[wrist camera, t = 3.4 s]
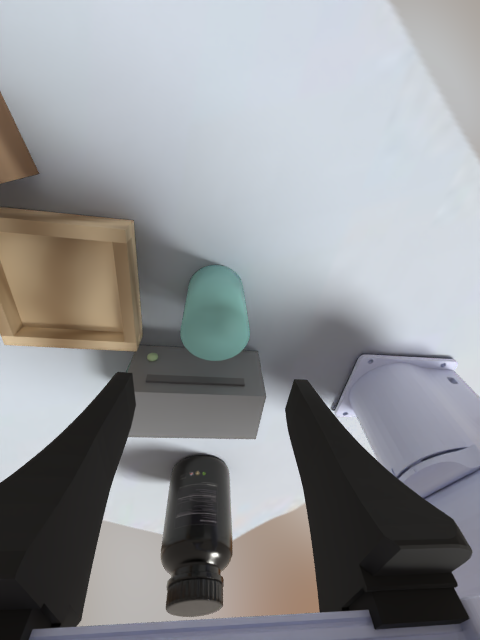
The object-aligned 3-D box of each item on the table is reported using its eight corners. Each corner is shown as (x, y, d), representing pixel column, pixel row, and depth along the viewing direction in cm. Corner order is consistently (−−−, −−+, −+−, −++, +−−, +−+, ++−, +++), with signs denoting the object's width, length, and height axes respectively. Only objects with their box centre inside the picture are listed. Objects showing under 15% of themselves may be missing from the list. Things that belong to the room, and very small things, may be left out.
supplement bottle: (230, 482, 36) (235, 616, 26) (175, 486, 36) (159, 623, 26) (228, 451, 32) (233, 593, 23) (167, 455, 32) (145, 601, 22)
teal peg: (246, 267, 20) (254, 307, 16) (239, 315, 23) (245, 362, 18) (189, 262, 20) (180, 302, 15) (187, 311, 22) (180, 359, 18)
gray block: (258, 349, 25) (266, 394, 20) (249, 392, 27) (255, 439, 23) (133, 342, 23) (115, 389, 19) (137, 388, 26) (122, 437, 22)
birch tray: (133, 220, 18) (125, 229, 16) (142, 335, 23) (136, 351, 21) (-24, 204, 17) (-50, 212, 15) (20, 328, 22) (4, 344, 20)
